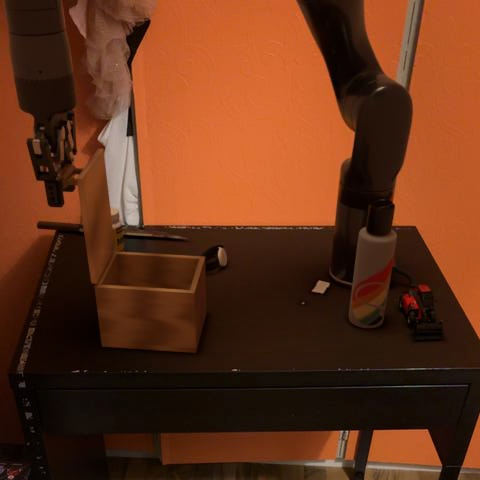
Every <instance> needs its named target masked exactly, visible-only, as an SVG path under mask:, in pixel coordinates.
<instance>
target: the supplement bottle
mask: <svg viewBox="0 0 480 480" xmlns="http://www.w3.org/2000/svg"><path fill="white" fill-rule="evenodd" d="M110 209H111V218H112V227H113V236H114V244H115V249H114V251H118V252H125V244H124V243H125V242H124V234H123V230H122V227H123V222H122V220H121V219H120V211H119V209H118V208H117V207H113V206H110Z"/></svg>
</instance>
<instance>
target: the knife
mask: <svg viewBox="0 0 480 480" xmlns="http://www.w3.org/2000/svg"><path fill="white" fill-rule="evenodd" d="M36 228H37V229H38V230H48V231H60V232H61V231H62V232H75V233H76V232H77V233H81V234H84V228H83V221H81V222H80V223H76V222H75V223H74V222H58V221H48V220H47V221H45V220H38V221H37V222H36ZM122 230H123V235H127V236H139V237H154V238H155V237H156V238H168V239H182V240H183V239H185V240H188V238H187V237H184V236H180V235H177V234H173V233H170V232H165V231H157V230H156V231H155V230H143V229H140V228H138V227H124V226H122Z"/></svg>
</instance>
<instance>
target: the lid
mask: <svg viewBox="0 0 480 480" xmlns="http://www.w3.org/2000/svg"><path fill="white" fill-rule="evenodd" d="M105 157H106V156H105V149H104V148H98V149H97V150H96V151H95V152H94V154H93V155H92V157H90V159H89V161H88V162H87V164H85V166H84V168H83V167H77V166H76V165H74V164H66V165H65V167H64V168H63V169H62V170H61V182H62V189H65V188H66V187H67V185H75V186H77V192H78V197H79V206H80V214H81V219H82V221H81V222H83V228H84V233H83V234H84V242H85V247H86V254H87V255H86V256H87V262H88V269H89V277H90V283H91V284H93V285H96V284H97V282H98V280H99V278H100V276H101V274H102V272H103V270H104V268H105V266H106V265H107V263H108V261H109V259H110V257H111V255H112V253H113V251H114V249H115V244H114V236H113V227H112V218H111V209H110V207H111V201H110V193H109V185H108V174H107V168H106V167H107V165H106V159H105ZM76 175H78V176H77V177H76V178H75V176H76ZM73 177H74V179H73Z"/></svg>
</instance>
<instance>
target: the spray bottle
mask: <svg viewBox="0 0 480 480" xmlns="http://www.w3.org/2000/svg"><path fill="white" fill-rule="evenodd" d="M395 210H396V205H395V203H394V201H393V202H392V201H390V200H388V199H379V200H375V201H373V202H371V203H370V204H369V209H368V217H367V225H366V227H364V228H362V229H361V230H360V232H359V237H358V244H357V252H356V260H355V268H354V276H353V284H352V288H351V293H350V301H349V310H348V321H349V322H350V324H352V325H354V326H355V327H357V328H361V329H374V328H378V327H380V326H381V325H382V324H383V322H384V319H385V313H386V308H387V302H388V295H389V290H390V284H391V282H390V277H391V271H392V265H393V259H394V256H395V253H396V245H397V239H398V238H397V237H398V236H397V232H396V231H395V230H393V223H394V218H395V217H394V216H395Z"/></svg>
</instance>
